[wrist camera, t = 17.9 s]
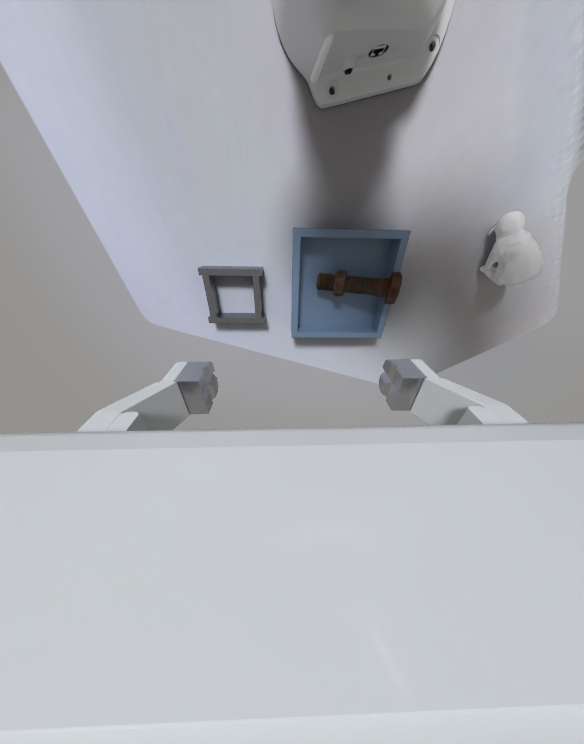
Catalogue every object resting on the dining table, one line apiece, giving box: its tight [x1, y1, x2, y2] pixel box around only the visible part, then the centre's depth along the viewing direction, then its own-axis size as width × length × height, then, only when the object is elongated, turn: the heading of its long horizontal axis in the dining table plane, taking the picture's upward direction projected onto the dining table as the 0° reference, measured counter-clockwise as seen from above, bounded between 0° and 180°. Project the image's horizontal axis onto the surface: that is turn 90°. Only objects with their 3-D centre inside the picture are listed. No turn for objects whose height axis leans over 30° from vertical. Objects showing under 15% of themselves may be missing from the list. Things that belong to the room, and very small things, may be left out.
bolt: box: [316, 269, 402, 304], centre depth 40 cm, size 6×5×15 cm
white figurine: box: [479, 211, 544, 285], centre depth 38 cm, size 6×8×12 cm
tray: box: [291, 228, 411, 338], centre depth 43 cm, size 20×20×4 cm
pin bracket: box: [198, 266, 266, 323], centre depth 44 cm, size 12×11×3 cm
